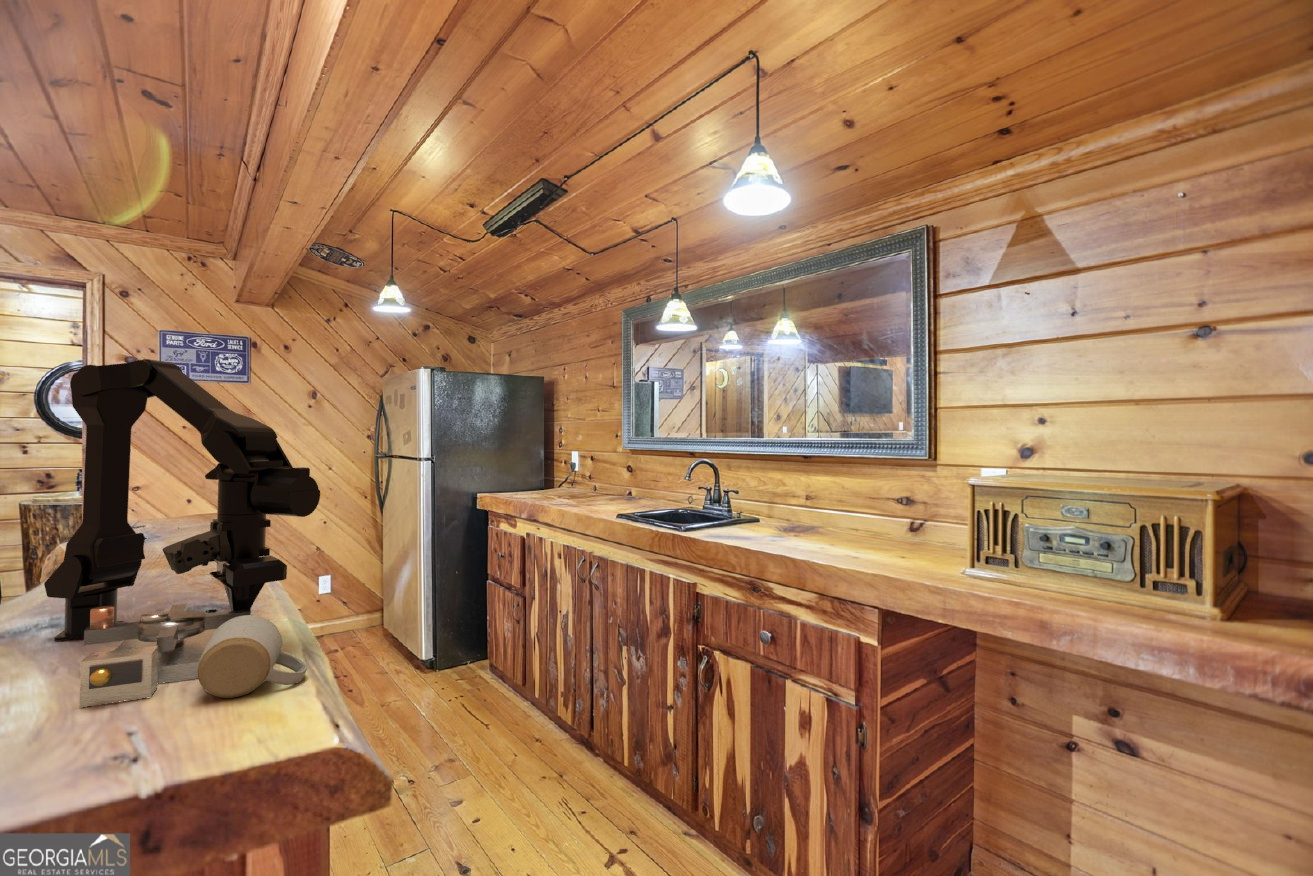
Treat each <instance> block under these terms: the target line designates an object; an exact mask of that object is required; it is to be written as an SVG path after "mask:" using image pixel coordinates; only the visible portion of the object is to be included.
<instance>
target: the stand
mask: <svg viewBox="0 0 1313 876" xmlns="http://www.w3.org/2000/svg"><path fill="white" fill-rule="evenodd" d="M215 631H216V629H211V630H205V631H204V632H202V633H200V634H198V635H195V636H192V637H188V638H184V639H179V640H177V642H176V645H175V648H174V650H173V651H166V652H159V653H158V646H157V642H142V641H139V640H138V639H132V640H124V641H121V643H120V644H119V645H118V646H117V648H116V647H115V649H114V650H108V651H98V652H97V651H96V652H90V653H88V655H87V656H85V657H84V658H83V659H82V660H81V661H80V673H79V678H80V679H79V680H80V681H79V707H78V708H79V709H83V707H85V708H88V707H87V706H92V707H96V706H95V705H99V706H102V705H101V704H105V705H107V704H106V703H112V702H113V703H112V704H115V703H114V702H119V701H124V700H133V701H137V700H136V699H139V700H143V699H142V698H146V699H148V698H147V697H151V696H153V695H154V694H153V693H155V692H156V691H157V689H158V684H157V683H161V684H164V683H163V682H169V683H174V682H183V681H188V680H189V681H190V680H196V679H197V680H198V675H197V670H198V663H199V660H200V658H201V655H202V653H203V652H204V650H205V648H206V646H207V644H208V642H209V641H210V639H211V637H212V635H213V633H214V632H215ZM156 688H157V689H156ZM155 690H156V691H155ZM154 691H155V692H154ZM152 694H153V695H152ZM151 698H152V697H151ZM119 703H120V702H119ZM93 705H94V706H93Z"/></svg>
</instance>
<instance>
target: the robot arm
mask: <svg viewBox="0 0 1313 876" xmlns="http://www.w3.org/2000/svg"><path fill="white" fill-rule="evenodd" d="M69 383H70V384H69V385H70V386H69V387H70V393H71V404H72V408H73V409H74V410H75V412H76V413H77V415H78V416H79V417H80V419H81V420H82V421H83V423H84V424H85V426H86V427H85V429H86V431H85V433H86V434H85V451H84V453H85V458H84V476H83V477H84V478H83V500H82V521H81V525H80V526H79V527H78V528H77V529H76V531H75V532H74V533H73V535H72V536H71V537H70V538H69V539H68V541H67V542H66V545H65V551H64V556H63V561H62V562H61V563H60V564H59V566H58V567H57V568H56V569H55V570H54V571H53V573H51V574H50V576H49V577H48V578H47V579H46V580H45V582H44V584H43V585H44V589H45V594H46V596H47V598H53V599H54V598H55V599H64V601H65V602H64V628H63V629H64V630H62V631H61V632H60V633H58V634H57V635H55V636H54V637H53V641H55V642H57V641H67V640H69V641H70V640H77V639H84V631H85V630H86V628H88V627H90V610H91V609H93V608H96V607H102V606H114V624H123V623H126V620H119V621H118V619H117V618H118V593H119V592H118V590H119V589H123V588H127V587H128V588H129V587H133V586H134V585H135V582H136V579H137V576H138V573H139V571H140V568H141V566H142V561H143V560H145V559H146V557H145V551H144V546H145V542H146V541H145V540H146V537H145V535H144V533H143V532H139V533H138V532H137V533H136V531H135V530H134V528H133V527H132V526H131V524H130V523H129V519H128V518H129V517H128V516H129V497H130V496H129V495H130V494H129V491H130V474H131V473H130V470H131V468H130V467H131V446H132V428H133V426H134V425H135V424H136V422H137V421H138V420H139V419H140V417H141V416H142V415H143V414H144V413H145V411H146V409H147V402H148V399H150V398H154V397H156V398H157V399H158V400H159V401H161V402H162V403H163V404H165V405H166V406H167V407H168V408H169V409H171V410H172V411H173V412H174V413H176V414H177V415H178V416H180V417H181V418H182V419H183V420H184V421H186V422H187V423H188V424H189V425H191V426H192V427H193V428H194V429H196V431H197V432H198V433H199V434H200V439H201V440H200V442H201V445H202V446H203V448H205V450H206V451H207V452H208V453H209V455H210V456H211V457H212V458H213V459H214V460H215V461H216V462H217V465H216V466H215V467H214V468H213V469H211V470H209V471H208V472H207V473H206V474H205V475H204V478H205V480H214V481H217V482H218V483H217V485H218V486H217V511H216V512H217V513H216V515H217V516H216V518H212V521H210V525H209V526H210V527H209V528H210V529H209V530H208V531H206V532H202V533H199V534H196V535H193V536H191V537H188V538H185V539H183V540H179V541H177V542H174V543H171V544H169V545H167V546H165V547H163V548H162V552H163V554H164V556H165V559H166V560H167V563H168V565H169V567H170V569H171V571H172V572H175V574H176V575H182V574H185V573H188V572H190V571H192V569H193V568H196V567H199V566H202V567H205V566H208V565H209V563H211V562H214V563H216V571H211V572H209V575H210V576H211V577H213V578H214V579H216V580H217V581H219V582H220V583H221V584H222V585H223V587H224V590H225V594H226V598H227V601H228V605H229V608H230V611H236V610H245V609H251V610H252V606H253V605H254V603H255V601H256V599H257V598H258V596H259V594H260V592H261V590H262V589H263V588H264V586H265V584H266V583H273V582H280V581H285V580H286V579H287V575H288V574H287V573H288V564H286V563H285V562H284V561H282V560H281V559H279V558H277V557H275V556H273V555H270V554H271V552H270V551H271V548H269V547H268V546H266V537H267V536H266V535H267V534H266V533H267V529H266V528H271V524H272V523H271V521H272V520H271V519H270V518H267V515H269V516H270V515H271V516H272V515H274V516H285V517H286V516H287V517H298V518H299V517H300V518H304V517H308V516H310V515H311V514H313V513H314V511H315V510H316V509H317V508H318V506H319V502H320V500H321V490H320V489H319V488H320V487H319V484H318V483H317V481H316V480H315V479H314V478H313V476H310V475H311V470H310V467H293V465H292V464H291V462H290V460H289V458H288V456H287V455H286V453H285V452H284V450H283V448H282V446H281V444H280V443H279V441H278V440H277V438H278V435H277V433H276V432H275V430H274V429H273V428H272V427H270V426H268V425H266V424H265V423H263V422H261V421H259V420H257V419H255V418H252V417H250V416H246V415H244V414H240V413H238V412H235V411H233V410H232V409H230V408H229V407H227V406H226V405H225V404H223V403H222V402H221V401H220V400H219V399H217V398H216V397H215V396H213V395H212V394H211V393H210V392H208V391H207V390H206V389H204V388H203V387H202V386H201V385H200V384H198V383H197V382H196V381H194V380H193V379H192V378H190V377H189V376H188V375H187V374H186V373H184V372H183V370H182V368H181V367H180V366H179V365H177V364H176V363H173V362H169V361H162V360H157V359H156V360H155V359H150V358H148V359H147V358H143V359H138V360H134V361H131V362H122V363H114V364H112V363H111V364H105V365H96V364H86V365H84V366H82V367H80V368H79V370H78V371H77V372H74V373H73V374H72V376H71V378H70V380H69Z"/></svg>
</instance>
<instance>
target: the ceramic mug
mask: <svg viewBox="0 0 1313 876" xmlns="http://www.w3.org/2000/svg"><path fill="white" fill-rule="evenodd" d="M282 638H283V637H282V634H281V632H280V630H279V628H278V627H277V625H276V624H275V623H274V622H272V621H271V620H270V619H267V618H265V617H263V616H258V615H254V614H251V615H244V616H239V617H235V618H232V619H230V620H228V621H227V622H225V623H223V624H222V625H221V626H219V627H218V628H217V629H216V631H215V632H214V633H213V635H212V637H211V639H210V641H209V642H208V644H207V646H206V648H205V650H204V652H203V653H202V655H201V658H200V660H199V663H198V670H197V675H198V678H197V680H198V681H199V684H200V685H201V688H203V689H204V690H205V691H206V692H207V693H209V694H210V695H212V696H214V697H217V698H218V697H219V698H223V699H230V698H238V697H242V696H245V695H248V694H249V693H251V692H253V691H255V690H256V689H258V688H259V687H260V685H262V684H263V683H264V682H269V683H272V684H277V685H283V686H284V685H285V686H288V685H289V686H290V685H291V686H292V685H296V684H298V683H297V682H299V683H300V682H301V681H302V680H303V679H304V676H305V674H306V673H307V670H308V664H307V663H306V662H305V661H303V660H302V659H301V658H300V657H297V656H296V655H293V654H292V653H289V652H286V651H282V648H283V647H282V646H283V639H282ZM275 664H277V665H279V666H283V667H285V668H287V669H290V670H292V672H291V671H286V670H281V669H277V668H274V666H275ZM295 683H296V684H295Z"/></svg>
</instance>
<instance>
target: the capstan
mask: <svg viewBox="0 0 1313 876" xmlns="http://www.w3.org/2000/svg"><path fill="white" fill-rule="evenodd" d="M187 606H188V604H187V603H180V604H172V605H171V608H170V609H169V611H168V610H164V611H163V610H160V611H152V612H147V613H144V614H141V615H140V621H133V622H132V621H131V622H125V623H123V624H114V606H102V607H96V608H93V609H91V610H90V627H88V628H86V630H85V631H84V638H83V646H92V645H99V644H100V645H101V644H107V643H114V642H115V643H116V642H123V641H124V640H132V639H138V640H139V641H142V642H157V646H158V653H159V652H166V651H173V650H174V648H175V645H176V642H177V640H179V639H184V638H188V637H192V636H195V635H198V634H200V633H202V632H204V631H205V630H211V629H217V628H218V627H219V626H221V625H222V624H223V623H225V622H227V621H228V620H230V619H232V618H235V617H239V616H244V615H252V611H251V610H252V608H251V609H245V610H236V611H231V610H229V611H220V612H212V613H211V612H210V613H206V612H204V611H200V610H199V611H197V610H187V608H188V607H187Z"/></svg>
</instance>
